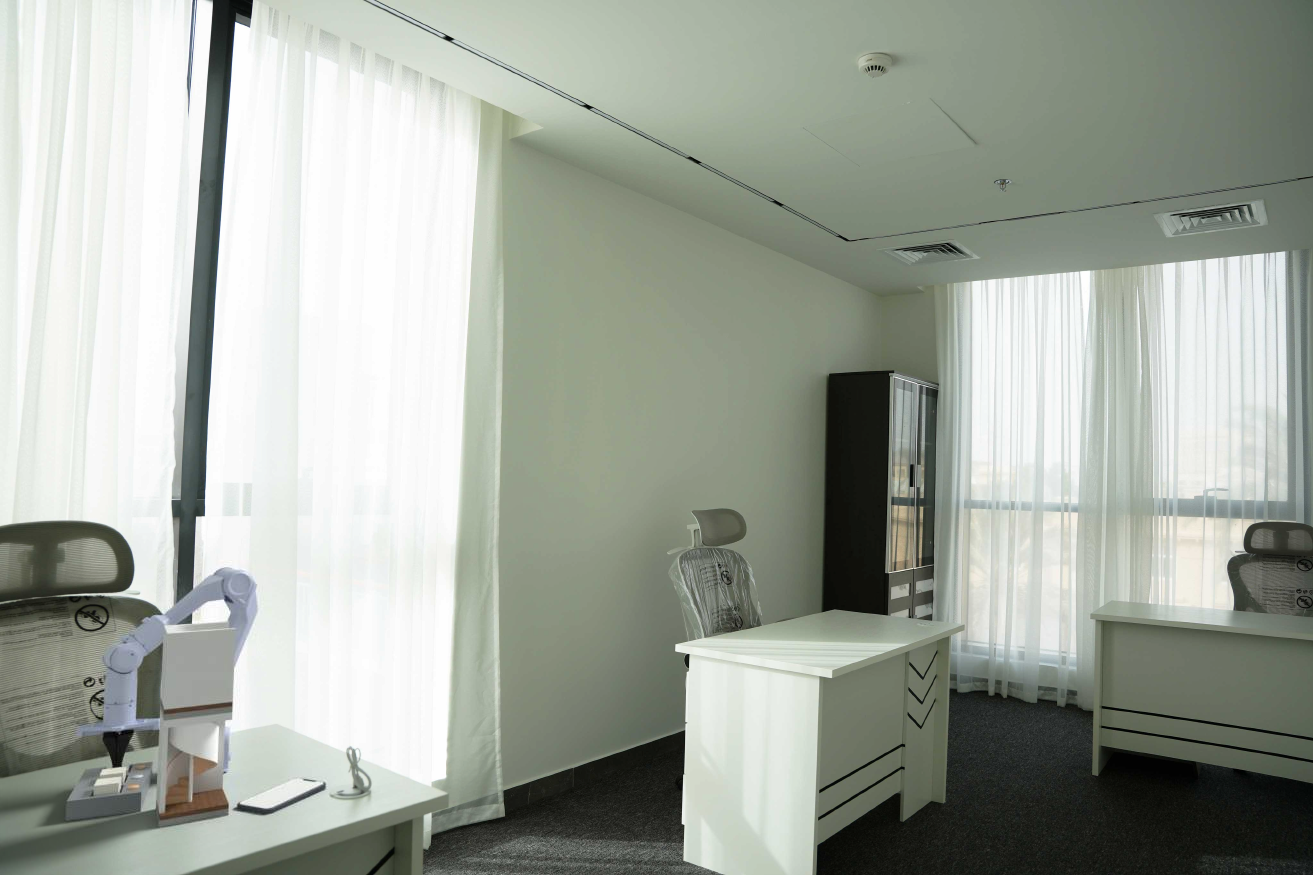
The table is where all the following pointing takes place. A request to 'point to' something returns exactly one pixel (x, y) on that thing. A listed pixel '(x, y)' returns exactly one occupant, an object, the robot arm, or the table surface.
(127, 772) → the button
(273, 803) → the smartphone
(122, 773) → the middle button
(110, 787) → the button
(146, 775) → the button board
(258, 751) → the table surface
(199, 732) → the spiral staircase model
